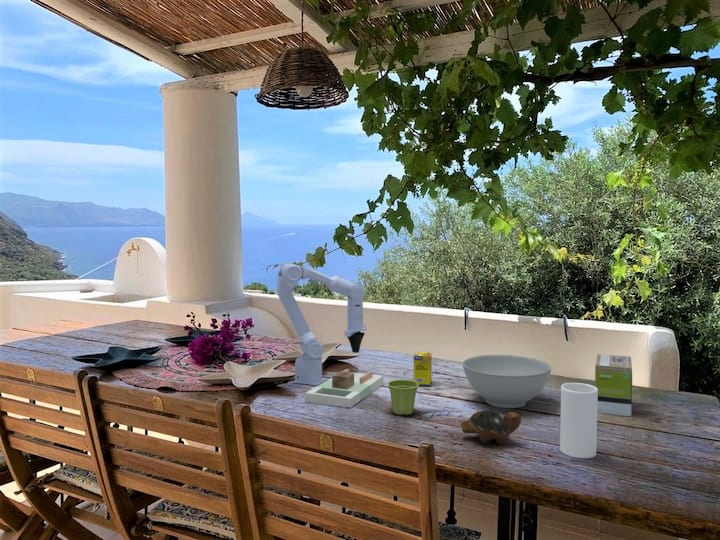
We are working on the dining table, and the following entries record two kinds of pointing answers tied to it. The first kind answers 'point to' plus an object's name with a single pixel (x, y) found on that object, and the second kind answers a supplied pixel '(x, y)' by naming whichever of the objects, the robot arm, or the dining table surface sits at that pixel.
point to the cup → (578, 420)
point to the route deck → (344, 391)
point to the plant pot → (403, 395)
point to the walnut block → (343, 380)
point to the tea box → (614, 384)
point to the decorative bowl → (506, 378)
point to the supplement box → (422, 368)
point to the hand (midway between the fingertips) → (355, 352)
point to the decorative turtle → (492, 425)
